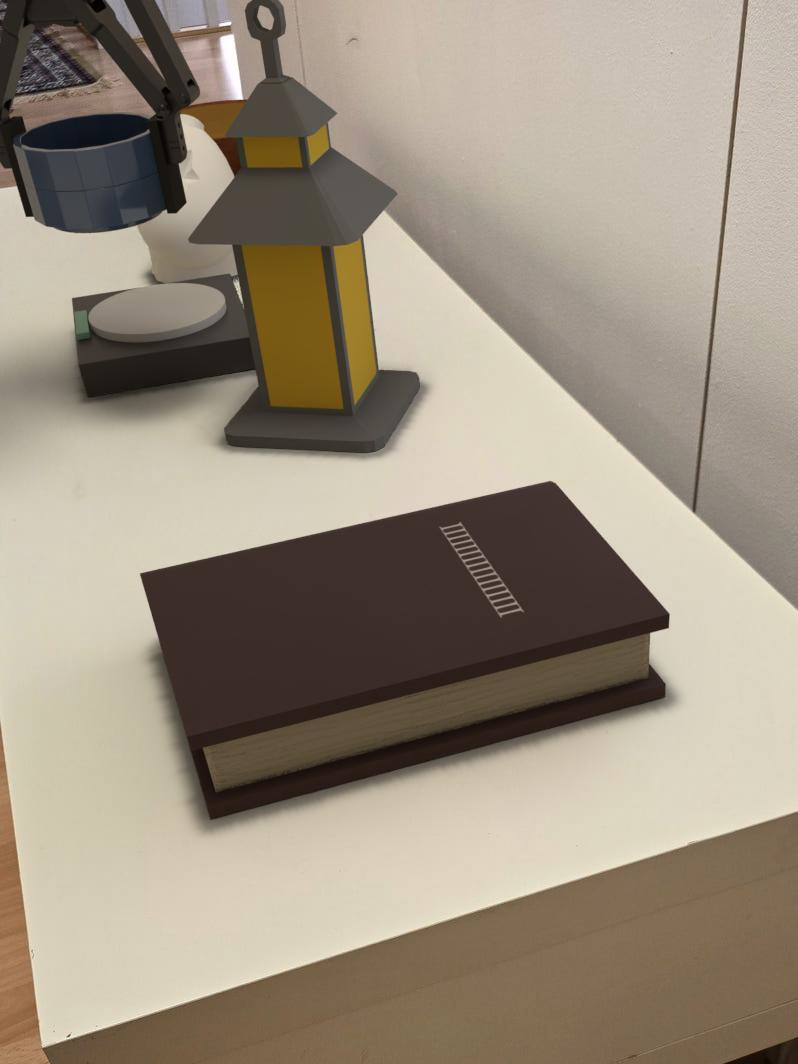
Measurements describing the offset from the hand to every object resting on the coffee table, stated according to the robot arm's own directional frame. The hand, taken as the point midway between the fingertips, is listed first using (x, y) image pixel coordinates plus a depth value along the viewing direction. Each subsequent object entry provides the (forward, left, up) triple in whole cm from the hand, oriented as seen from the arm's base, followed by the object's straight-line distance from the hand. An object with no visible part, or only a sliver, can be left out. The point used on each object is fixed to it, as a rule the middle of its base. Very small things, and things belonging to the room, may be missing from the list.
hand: (106, 210), depth 98 cm
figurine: (-5, +33, -16) cm, 37 cm away
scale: (-3, +13, -16) cm, 21 cm away
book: (+29, -40, -16) cm, 51 cm away
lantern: (+16, -2, -16) cm, 23 cm away
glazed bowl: (0, 0, 0) cm, 0 cm away
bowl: (-7, +55, -16) cm, 58 cm away
